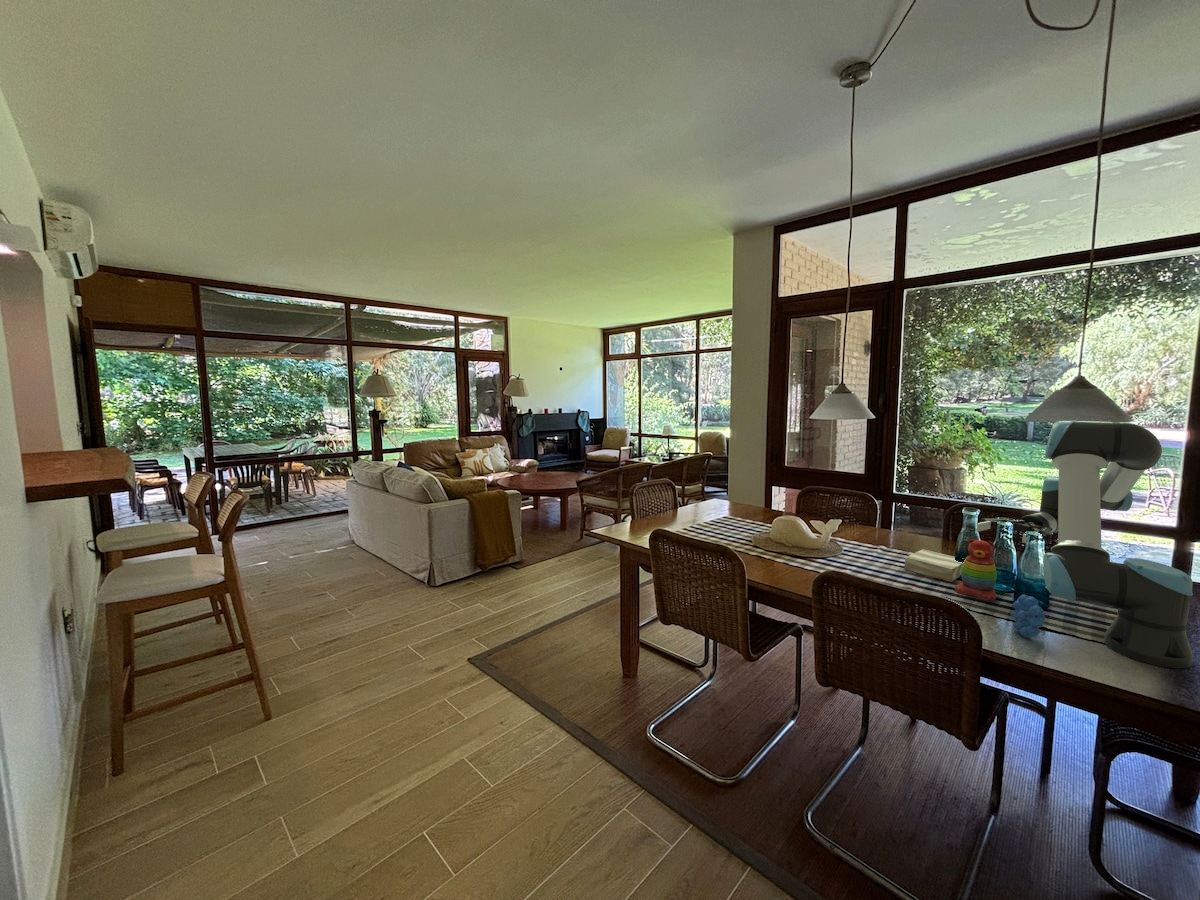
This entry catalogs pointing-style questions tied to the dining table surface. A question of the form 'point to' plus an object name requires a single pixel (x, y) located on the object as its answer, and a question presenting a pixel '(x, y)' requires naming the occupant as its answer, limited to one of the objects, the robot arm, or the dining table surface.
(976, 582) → the stacking bear
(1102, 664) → the dining table surface
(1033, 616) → the grapes
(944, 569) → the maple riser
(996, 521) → the robot arm
